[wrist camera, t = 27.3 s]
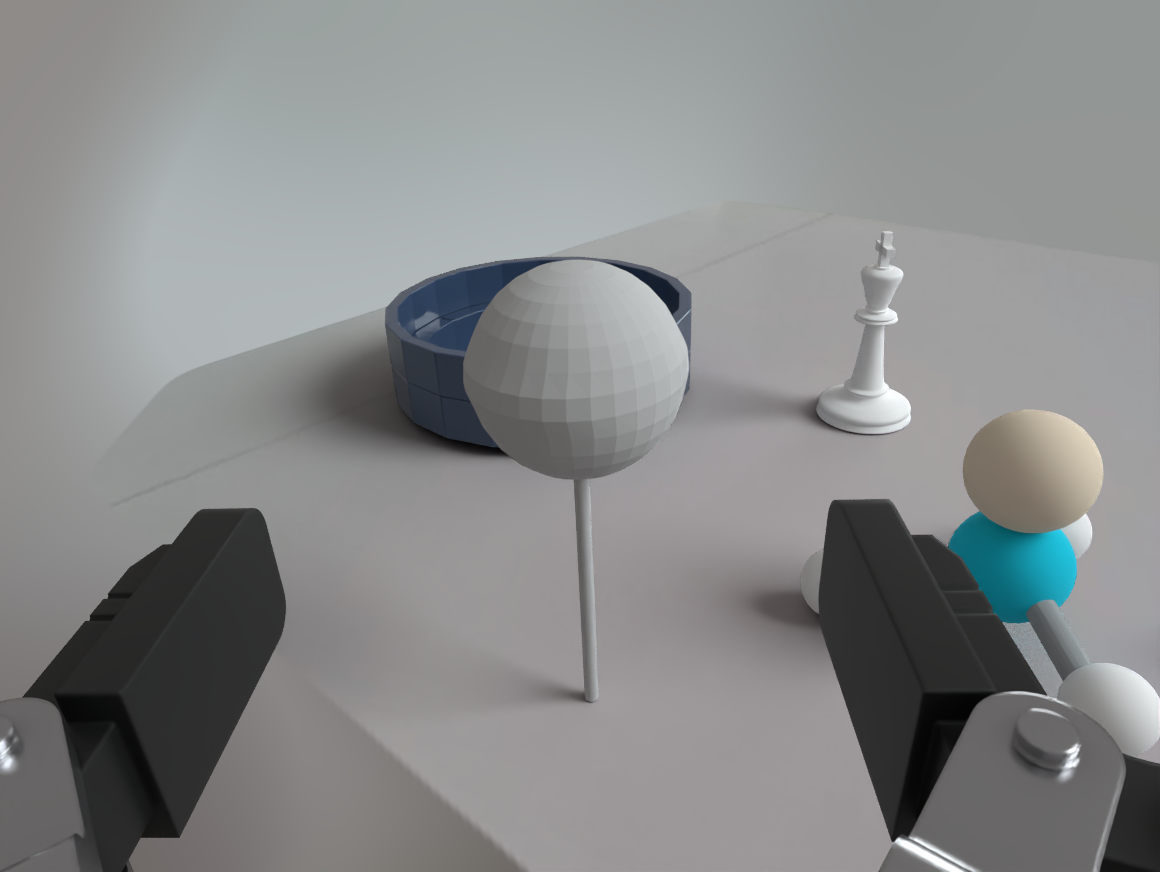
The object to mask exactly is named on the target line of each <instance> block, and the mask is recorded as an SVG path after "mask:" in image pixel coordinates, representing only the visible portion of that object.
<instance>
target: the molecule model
mask: <svg viewBox="0 0 1160 872" xmlns="http://www.w3.org/2000/svg"><path fill="white" fill-rule="evenodd" d="M963 478H964V484H965V487H966V490H967V493H968V495H969V497H970V498H971V500H972V502H973V503H974V505H975V506H976V507H977V508H978V509H979V510H980V511H979V512H977V513H976V514H974V515H972V516H970V517H969V518H968V519H967V520H965V521H964V522H963V523H962V524H961V525H960V526H959V527H958V528H957V530H956V531H955V532H954V534H953V536H952V538H951V539H950V542H949V545H948V548H950V549H951V550H952V551H953V552H955V553H956V554H957V555H959V556H960V557H961V558H962V559H963V561H964V562H965V564H966V565H967V567H968V569H969V570H970V572H971V573H972V575H973V577H974V578H975V580H976V581H977V583H978V585H979V591H983V593H984V594H985V596H986V598H987V599H988V601H989V602H990V604H991V606H992V607H993V614H997V615H998V617H999V618H1000V620H1001V622H1006V623H1024V622H1030V623H1031V625H1032V627H1033V629H1034V630H1035V632H1036V634H1037V636H1038V637H1039V639H1040V641H1041V643H1042V645H1043V646H1044V648H1045V650H1046V652H1047V653H1048V655H1049V657H1050V659H1051V661H1052V662H1053V664H1054V666H1055V668H1056V669H1057V671H1058V673H1059V675H1060V676H1061V678H1062V680H1063V683H1062V684H1061V686H1060V689H1059V692H1058V696H1057V699H1058V700H1060V701H1063V702H1065V703H1067V704H1069V705H1071V706H1074V707H1075V708H1077V709H1079V710H1080V711H1082V712H1084V713H1086V714H1087V715H1088V716H1090V717H1091V718H1092V719H1094V720H1095V721H1097V722H1098V723H1099V724H1100V725H1101V726H1102V727H1103V728H1104V729H1105V730H1106V731H1107V732H1108V733H1109V734H1110V735H1111V736H1112V738H1113V739H1114V740H1115V742H1116V743H1117V745H1118V746H1119V748H1120V750H1121V752H1122V753H1124V754H1126V755H1129V756H1132V757H1133V756H1137V755H1139V754H1141V753H1143V752H1145V751H1147V750H1148V749H1150V748H1151V747H1152V746H1153V745H1154V744H1155V743H1156V742H1157V740H1158V739H1159V737H1160V698H1159V697H1158V695H1157V693H1156V692H1155V690H1154V689H1153V687H1152V686H1151V685H1150V684H1149V683H1148V682H1147V681H1146V680H1145V679H1144V678H1142V677H1141V676H1140V675H1138V674H1137V673H1135V672H1133V671H1132V670H1130V669H1127V668H1125V667H1122V666H1119V665H1115V664H1110V663H1093V664H1092V663H1091V661H1090V659H1089V658H1088V656H1087V654H1086V652H1085V651H1084V649H1083V647H1082V646H1081V644H1080V642H1079V641H1078V639H1077V637H1076V636H1075V634H1074V632H1073V631H1072V629H1071V627H1070V625H1069V624H1068V622H1067V620H1066V619H1065V617H1064V615H1063V614H1062V612H1061V610H1060V609H1059V607H1060V606H1061V605H1062V604H1063V603H1064V602H1065V600H1066V599H1067V598H1068V597H1069V595H1070V593H1071V591H1072V589H1073V587H1074V584H1075V580H1076V575H1077V562H1076V560H1077V559H1078V558H1080V557H1081V556H1082V555H1083V554H1084V553H1085V552H1086V550H1087V549H1088V547H1089V545H1090V543H1091V539H1092V526H1091V523H1090V520H1089V518H1088V517H1087V515H1086V513H1087V511H1088V510H1089V509H1090V508H1091V507H1092V505H1093V504H1094V503H1095V501H1096V499H1097V497H1098V495H1099V492H1100V490H1101V487H1102V482H1103V463H1102V459H1101V455H1100V452H1099V450H1098V448H1097V446H1096V445H1095V443H1094V441H1093V439H1092V438H1091V437H1090V436H1089V435H1088V434H1087V433H1086V431H1085V430H1084V429H1083V428H1081V427H1080V426H1079V425H1077V424H1076V423H1075V422H1073V421H1072V420H1070V419H1068V418H1066V417H1064V416H1061V415H1059V414H1056V413H1052V412H1048V411H1042V410H1020V411H1015V412H1011V413H1007V414H1005V415H1002V416H1000V417H998V418H996V419H994V420H992V421H991V422H989V423H988V424H987V425H985V426H984V427H983V428H981V429H980V431H979V432H978V433H977V434H976V435H975V436H974V438H973V439H972V441H971V443H970V444H969V446H968V448H967V451H966V454H965V457H964V462H963ZM823 551H824V549H822V550H820V551H818V552H816V553H815V554H814V555H812V556H811V557H810V558H809V560H808V561H807V562H806V563H805V565H804V567H803V570H802V573H801V580H800V584H801V590H802V594H803V596H804V598H805V600H806V602H807V603H808V605H809V606H810V607H811V608H812V609H813V610H814V611H815V612H816V613H818V614H819V603H818V596H819V583H820V575H821V567H822V559H823Z"/></svg>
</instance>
